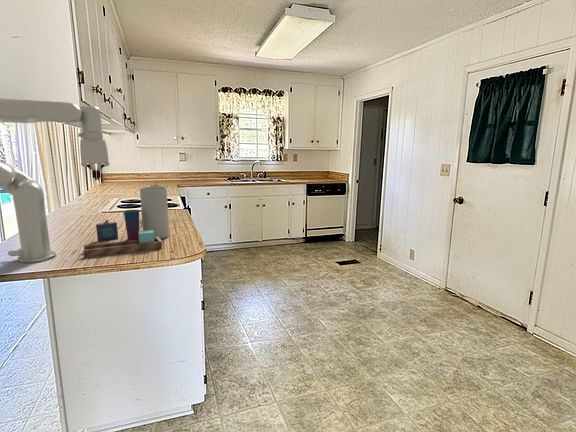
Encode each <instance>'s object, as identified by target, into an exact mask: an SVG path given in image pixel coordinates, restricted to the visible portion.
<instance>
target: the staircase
mask: <svg viewBox="0 0 576 432" xmlns="http://www.w3.org/2000/svg"><path fill="white" fill-rule="evenodd" d="M149 187H166V185H163V184H159V183H158V180H156V179H154V184H150V185H149Z"/></svg>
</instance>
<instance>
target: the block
mask: <svg viewBox="0 0 576 432" xmlns="http://www.w3.org/2000/svg"><path fill="white" fill-rule="evenodd" d="M138 234H139V239H138V240H139V244H141V243H150V242H155V240H154V232H153V230H147V231H143V230H139V231H138Z"/></svg>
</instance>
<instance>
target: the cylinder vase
mask: <svg viewBox="0 0 576 432" xmlns="http://www.w3.org/2000/svg"><path fill="white" fill-rule="evenodd" d="M167 189H168V188H167V187H166V186H165V187H150V186H146V187H145V186H144V187H140V188H139V195H140V196H139V197H140V207H141V208H140V210H141V211H140V212H141V221H142V223H141V224H142V231H147V230H153V232H154V238H156V237H160V239H161V240H162V239H165V238H168V237H169V236H170V227H169V226H170V222H169V207H168V204H169V203H168V190H167Z"/></svg>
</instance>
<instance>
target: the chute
mask: <svg viewBox="0 0 576 432" xmlns="http://www.w3.org/2000/svg"><path fill="white" fill-rule="evenodd" d="M154 240H155V242H150V243H141V244H139V239H138V240H124V241H114V242H113V241H112V242H105V243H103V242H102V243H95V244H93V243H92V244H84V245H83V250H82V253H83V259H90V258H98V257H99V258H100V257H101V258H102V257H107V256H109V257H110V256H116V255H117V256H118V255H126V254H133V253H141V252H149V251H155V250H156V251H158V250H159V251H160V250H163V243H162V239H160V237H156V238H154Z"/></svg>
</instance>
